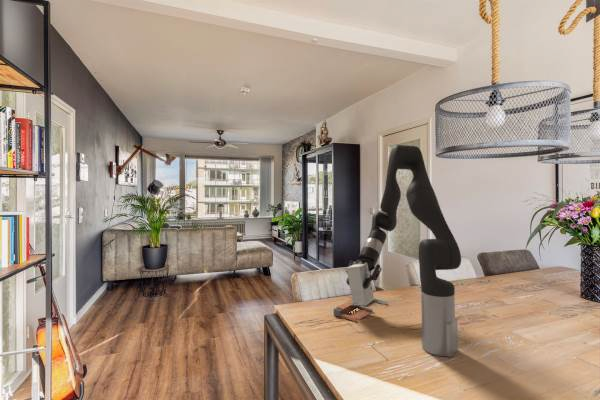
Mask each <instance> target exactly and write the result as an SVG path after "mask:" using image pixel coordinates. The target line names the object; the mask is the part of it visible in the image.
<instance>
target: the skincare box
mask: <svg viewBox="0 0 600 400" xmlns="http://www.w3.org/2000/svg"><path fill="white" fill-rule="evenodd" d="M346 270H347V272H346V274H347V279H349V285H348V286H349V290H350V295H351V301H352V302H353V305H361V306H364V307H367V306H368V305H369V304H370V303H371V302H373V300H374V298H375V296H374V290H373V286H372V281H371V282H370V284H369V287H368V288H367V289H364V288H363V284H364V281H365V279H366V278H367V274H366V270H365V264H355V265H352V266H350V267H348V266H347V267H346Z"/></svg>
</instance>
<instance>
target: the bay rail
mask: <svg viewBox="0 0 600 400" xmlns="http://www.w3.org/2000/svg"><path fill="white" fill-rule="evenodd" d="M372 302H373V303H378V304H381V305H385V306H386V305H388V301H387V300H383V299H379V298H375V297H374V300H373V301H372ZM356 308H358V309H361V310H358V311H356V310H355V313H354V311H353V310H354V309H356ZM364 310H365V311H364ZM351 311H353V314H352V313H351ZM367 311H368V312H367ZM349 312H350V313H349ZM373 313H374V308H370V307H367V306H361V305H353V302H352V299H351V300H348V301H346V302H344V303H342V304H340V305H338V306H336V308H333V316H334V315H335V316H334V317H337V316H338V317H337V318H341V317H342V319H344V320H348V319H349V320H348V321H351V320H352V322H354V321H355V322H354V323H357V322H358V321H360V320H362V319H363V317H364V318H365V316H366V317H367V316H369V315H370V314H373ZM357 319H358V320H357ZM356 321H357V322H356Z"/></svg>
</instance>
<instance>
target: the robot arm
mask: <svg viewBox="0 0 600 400" xmlns="http://www.w3.org/2000/svg"><path fill="white" fill-rule="evenodd" d="M388 157H389V158H388V161H387V162H388V163H387V170H386V178H385V186H384V187H385V188H384V192H383V194H382V198H381V202H380V207H379V208H380V210H381V211H379V210H378V211H376V212H374V213H373V214H372V219H371V227H370V232H369V235H368V236H367V239H366V241H365V242H364V244H363V245H362V248H361V250H360V252H359V254H358V258H357V260H356V261H353V260H351V259H350V260H349V263H348V265H347V267H350V266H352V265H355V264H365V270H366V274H367V278H366V279H365V281H364V284H363V288H364V289H367V288H368V287H369V284H370V282H371V283H372V281H375V282H376V281H377V280H378V278H379V275H380V274H381V272H382V266H381V265H380V264H379V263H378V261H379V258H380V256H381V254H382V250H383V246H384V244H385V242H386V239H387V233H386V232H392V231H394V230H395V229H396V227H397V222H398V221H397V211H398V207H399V203H400V202H401V197H402V193H401V189H400V188H401V187H400V185H399V183H398V179H397V173H398V170H409V171H410V172H411V173H412V179H411V182H410V184H409V185H408V188H407V190H406V195H405V197H406V200H407V203H408V207H409V209H410V212H411V213H412V215H413V216H414V217H415V218H416V219H417V220H418V221H419V222H421V224H423V225H424V226H426V228H427V229H429V230H430V232H431V233H432V234H433V236H434V237H435V238H427V239H422V240H421V241H420V242H419V245H418V266H419V267H418V268H419V280H420V290H421V294H420V295H421V298H420V299H421V346H422V349H423V350H424V351H425V352H427V353H428V354H431V355H435V356H440V357H449V358H452V357H453V356H454V355H455V354H456V353H457V351H458V350H459V349H458V348H459V347H458V346H459V345H458V343H459V342H458V341H459V340H458V338H459V337H458V335H459V334H458V318H457V317H456V305H455V304H456V303H455V302H456V301H455V300H456V294H455V288H456V287H455V285H454V283H452V282H451V281H449V280H446V279H443V278H440V277H438V276H437V271H444V270H445V271H450V270H456V269H458V268H460V266H461V263H462V255H461V250H460V247H459V245H458V242H457V241H456V238H455V236H454V235H453V233H452V230H451V229H450V227H449V225H448V224H447V220H446V219H445V217H444V213H443V211H442V209H441V207H440V204H439V203H440V202H439V200H438V197H437V195H436V192H435V191H434V188H433V186H432V183H431V180H430V178H429V175H428V172H427V168H426V165H425V160H424V156H423V153H422V150H421V149H420V147H418V146H416V145H406V144H404V145H403V144H395V145H394V146H393V147H392V148H391V149H390V153H389V156H388ZM385 231H386V232H385ZM377 263H378V264H377ZM372 271H373V273H372ZM345 272H346V273H347V269H346V270H345ZM345 281H346V284H347V285H348V286H350V285H349V279H348V278H346V280H345Z"/></svg>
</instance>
